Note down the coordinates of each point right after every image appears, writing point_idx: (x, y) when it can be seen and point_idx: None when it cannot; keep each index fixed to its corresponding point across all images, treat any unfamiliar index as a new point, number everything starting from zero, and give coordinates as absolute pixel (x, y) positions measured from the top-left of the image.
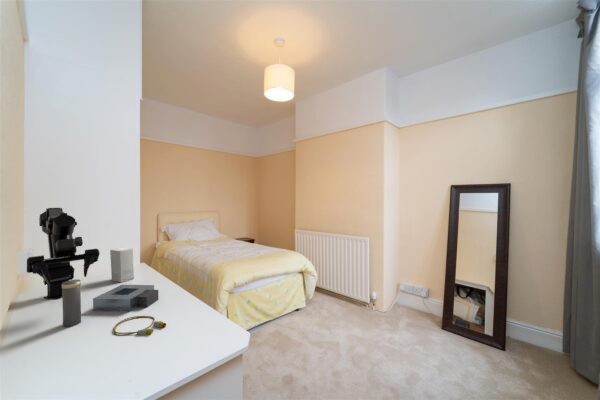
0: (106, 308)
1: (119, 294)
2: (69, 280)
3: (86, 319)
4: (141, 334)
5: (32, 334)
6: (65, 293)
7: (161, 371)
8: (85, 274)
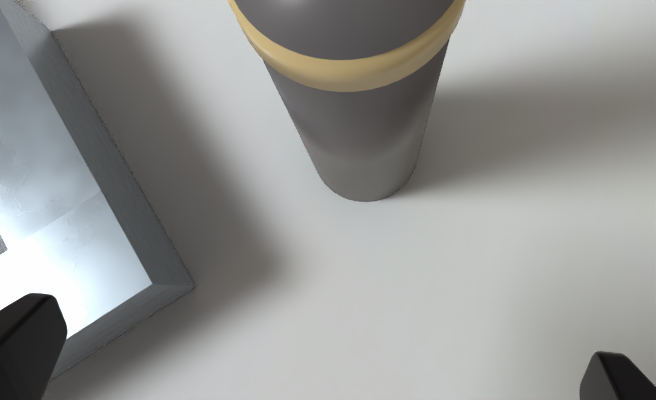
0: (129, 183)
1: None
2: (345, 51)
3: (280, 146)
4: None
5: (582, 185)
6: None
7: None
8: (30, 302)
